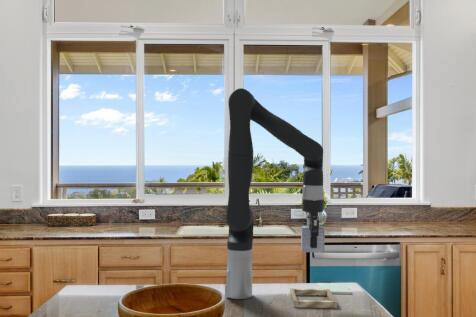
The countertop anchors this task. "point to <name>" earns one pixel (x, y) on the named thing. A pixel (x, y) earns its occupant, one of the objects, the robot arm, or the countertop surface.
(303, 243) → the medicine box
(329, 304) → the pocket tray
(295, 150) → the robot arm
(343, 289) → the sage mat
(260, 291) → the countertop surface
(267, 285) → the countertop surface
